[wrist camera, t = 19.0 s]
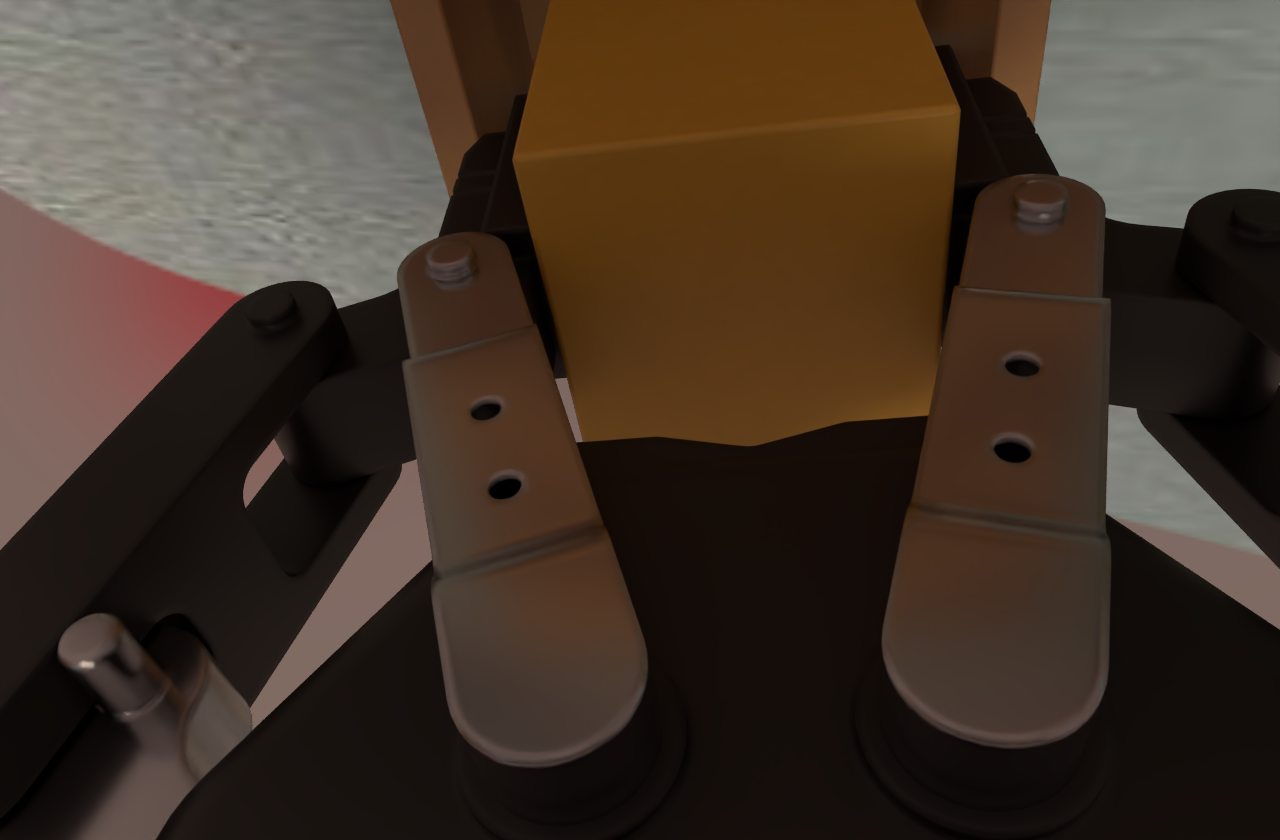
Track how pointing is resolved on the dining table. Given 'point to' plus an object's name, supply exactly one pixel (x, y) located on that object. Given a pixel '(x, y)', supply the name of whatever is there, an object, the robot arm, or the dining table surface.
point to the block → (740, 212)
